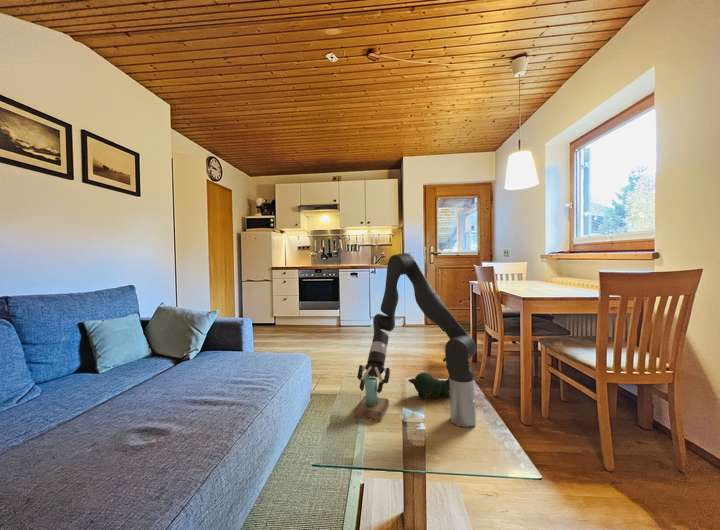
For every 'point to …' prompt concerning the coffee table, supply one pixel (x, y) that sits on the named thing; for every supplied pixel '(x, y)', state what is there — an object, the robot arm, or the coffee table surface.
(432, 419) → the coffee table surface
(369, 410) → the walnut plinth
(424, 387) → the toy figurine
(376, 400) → the teal cylinder
